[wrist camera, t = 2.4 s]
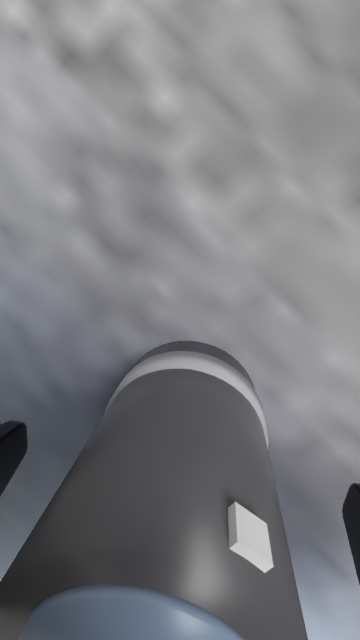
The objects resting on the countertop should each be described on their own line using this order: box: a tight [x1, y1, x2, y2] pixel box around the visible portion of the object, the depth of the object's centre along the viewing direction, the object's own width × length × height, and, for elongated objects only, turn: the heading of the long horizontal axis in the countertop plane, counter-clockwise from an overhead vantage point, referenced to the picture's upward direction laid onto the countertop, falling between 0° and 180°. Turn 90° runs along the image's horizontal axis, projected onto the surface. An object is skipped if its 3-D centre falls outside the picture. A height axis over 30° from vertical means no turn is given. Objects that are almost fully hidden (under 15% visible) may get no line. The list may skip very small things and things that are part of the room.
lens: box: [0, 341, 308, 640], centre depth 8 cm, size 5×5×7 cm
